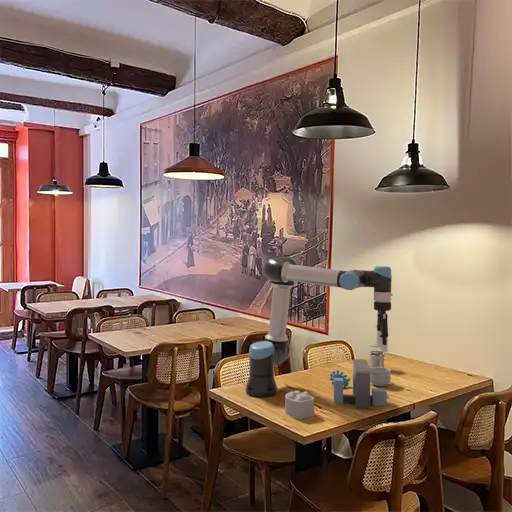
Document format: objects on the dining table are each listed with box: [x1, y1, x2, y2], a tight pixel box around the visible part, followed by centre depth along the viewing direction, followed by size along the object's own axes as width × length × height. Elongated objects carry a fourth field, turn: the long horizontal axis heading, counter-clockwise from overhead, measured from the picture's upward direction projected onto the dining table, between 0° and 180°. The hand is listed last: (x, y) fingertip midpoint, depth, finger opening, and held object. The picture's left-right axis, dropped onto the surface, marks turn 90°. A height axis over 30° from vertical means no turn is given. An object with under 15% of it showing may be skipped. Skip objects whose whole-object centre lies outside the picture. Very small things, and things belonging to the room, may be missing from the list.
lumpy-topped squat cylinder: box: [284, 390, 315, 420], centre depth 208 cm, size 10×13×9 cm
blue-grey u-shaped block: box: [333, 378, 390, 406], centre depth 222 cm, size 24×5×10 cm, turn 82°
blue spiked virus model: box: [329, 370, 352, 389], centre depth 246 cm, size 11×6×10 cm
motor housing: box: [352, 358, 371, 411], centre depth 222 cm, size 6×20×17 cm, turn 172°
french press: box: [369, 324, 386, 368], centre depth 279 cm, size 10×12×25 cm
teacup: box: [370, 366, 392, 388], centre depth 250 cm, size 14×11×8 cm
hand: (382, 348), depth 220 cm, fingers open, 13 cm apart
